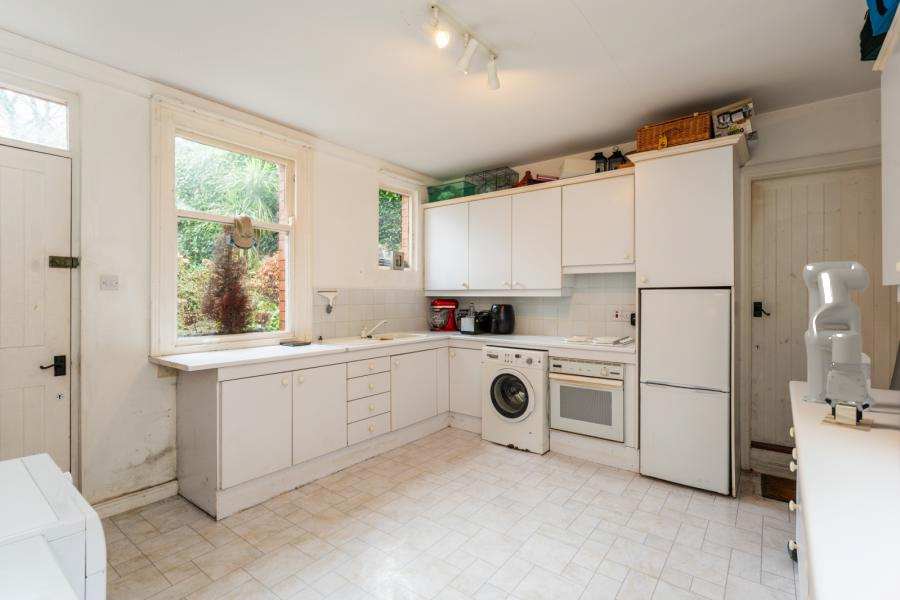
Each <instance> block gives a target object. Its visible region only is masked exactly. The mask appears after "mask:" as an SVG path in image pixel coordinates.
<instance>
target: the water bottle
mask: <svg viewBox="0 0 900 600" xmlns="http://www.w3.org/2000/svg"><path fill="white" fill-rule="evenodd" d="M871 361H872V360H871V358H870V357H869V355H867V354H866V353H864V352H863V351H862V373H864V374H865V377H866V383H867V392H868V393H869V394H870V395H871V396H872V394H871V393H872V387H871V386H872V383H871V381H872V380H871ZM868 402H869V400H868V399H867V401H866V402H864V403H862V405H863V404H865V403H868ZM845 403H851V404H856V402H849V401H845ZM871 411H872V406H870V407H868V408H866V409H864V410H863V411H862V412H871Z"/></svg>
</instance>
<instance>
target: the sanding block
mask: <svg viewBox="0 0 900 600" xmlns="http://www.w3.org/2000/svg"><path fill="white" fill-rule="evenodd" d="M856 411H857V405H856V404H851V403H847V402H844V401H842V402H838V403H837V405H836V423H839V424H846V425H852V426H856V424H857V422H856Z"/></svg>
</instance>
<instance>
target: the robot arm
mask: <svg viewBox="0 0 900 600" xmlns="http://www.w3.org/2000/svg"><path fill="white" fill-rule="evenodd" d="M802 276H803V277H802V278H803V280H804V283H805V285H806V287H807V290H808V295H809V297H808V303H809V304H808V305H809V306H808V316H809V320H808V329H807V330H806V331H805V333H804V342H805V349H806V358H807V359H806V360H807V362H806V363H807V364H806V365H807V366H806V367H807V369H806V371H807V372H806V373H807V380H806V381H807V384H806V385H807V387H806V388H807V391H806V392H807V393H806V394H807V395H804V396H802V400H803V399H804V400H803V401H805V400H806V401H805V402H808V401H809V402H808V403H812V402H814V403H813V404H819V403H820V404H821V405H826V404H829V405H828V406H830V407H831V412H832V416H834V419H836V405H837V403H838V402H846V401H849V402H856V405H857V411H856V422H860V420H862V417H863V412H864V411H863V410H864V409H866V408H868V407H870V406H871V407H872V406H874V405H876V404H877V403H878V401H877V400H876V399H874V397H873V396H872V394H871V393H870V394H871V395H870V394H869V393H868V392H867V383H866V377H865V374H864V373H862V352H863V344H864V343H863V342H864V341H863V337H862V312H861V309H860V307H859V305H858V304H856V303H854V302H852V301H851V295H850V291H864V290H866V289H868V287H869V285H870V275H869V273H868V271H867V269H866V268H865V267H864V266H863V265H862V264H861V263H860V262H858V261H852V260H850V261H849V260H847V261H819V262H811V263H807V264H806V265H804V267H803V269H802ZM819 325H825V326H827V325H828V326H844V328H840V327H838V328H836V327H820V326H819ZM830 352H831V353H832V354H831V353H830ZM867 399H868V400H869V402H868V403H865V404H863V405H862V403H864V402H866V401H867Z"/></svg>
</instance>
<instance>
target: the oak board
mask: <svg viewBox="0 0 900 600" xmlns="http://www.w3.org/2000/svg"><path fill="white" fill-rule="evenodd" d="M874 420H875V418H873V417H865V416H862V420H860V422H857V424H856V426H852V425H846V424H839V423H836V419H834V416H832V411H831V412H830V411H829V412H828V413H827V414H826V415H825V417H824V418H823V420H822V421H820V425H824V426H830V427H835V428H836V427H838V428H842V429H848V430H849V429H850V430H853V431H854V430H855V431H861V432H867V433H870V431H871V428H872V425H873V423H874Z"/></svg>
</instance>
